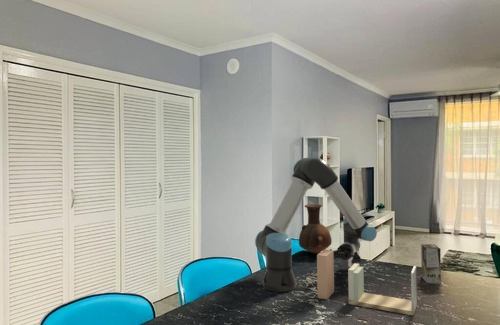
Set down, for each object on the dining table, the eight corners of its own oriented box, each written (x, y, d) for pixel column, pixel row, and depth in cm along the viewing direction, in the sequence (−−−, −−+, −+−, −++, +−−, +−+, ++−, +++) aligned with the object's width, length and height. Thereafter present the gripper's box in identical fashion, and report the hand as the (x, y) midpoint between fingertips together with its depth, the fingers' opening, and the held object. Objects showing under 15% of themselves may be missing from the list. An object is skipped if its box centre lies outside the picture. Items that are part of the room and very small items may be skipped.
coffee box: (441, 283, 166) (441, 248, 166) (426, 283, 167) (425, 248, 167) (435, 277, 175) (435, 244, 175) (421, 276, 176) (420, 243, 176)
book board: (348, 303, 145) (348, 299, 145) (355, 294, 155) (355, 291, 155) (413, 315, 133) (413, 311, 133) (416, 305, 143) (416, 301, 143)
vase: (292, 250, 232) (292, 203, 232) (321, 247, 237) (320, 202, 237) (307, 260, 208) (307, 208, 208) (339, 257, 213) (338, 206, 213)
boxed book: (317, 297, 152) (316, 254, 152) (325, 290, 161) (324, 249, 161) (326, 299, 150) (326, 256, 150) (334, 291, 159) (333, 250, 159)
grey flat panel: (411, 310, 134) (411, 272, 134) (414, 301, 143) (413, 265, 143) (413, 311, 134) (413, 273, 133) (416, 301, 142) (416, 266, 142)
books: (348, 299, 146) (348, 269, 145) (354, 291, 154) (354, 263, 154) (358, 301, 144) (357, 271, 144) (363, 292, 152) (363, 264, 152)
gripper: (372, 261, 177) (362, 273, 159) (322, 255, 189) (308, 266, 171) (371, 245, 177) (361, 256, 159) (322, 241, 189) (307, 250, 171)
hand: (333, 261), depth 165 cm, fingers open, 13 cm apart
